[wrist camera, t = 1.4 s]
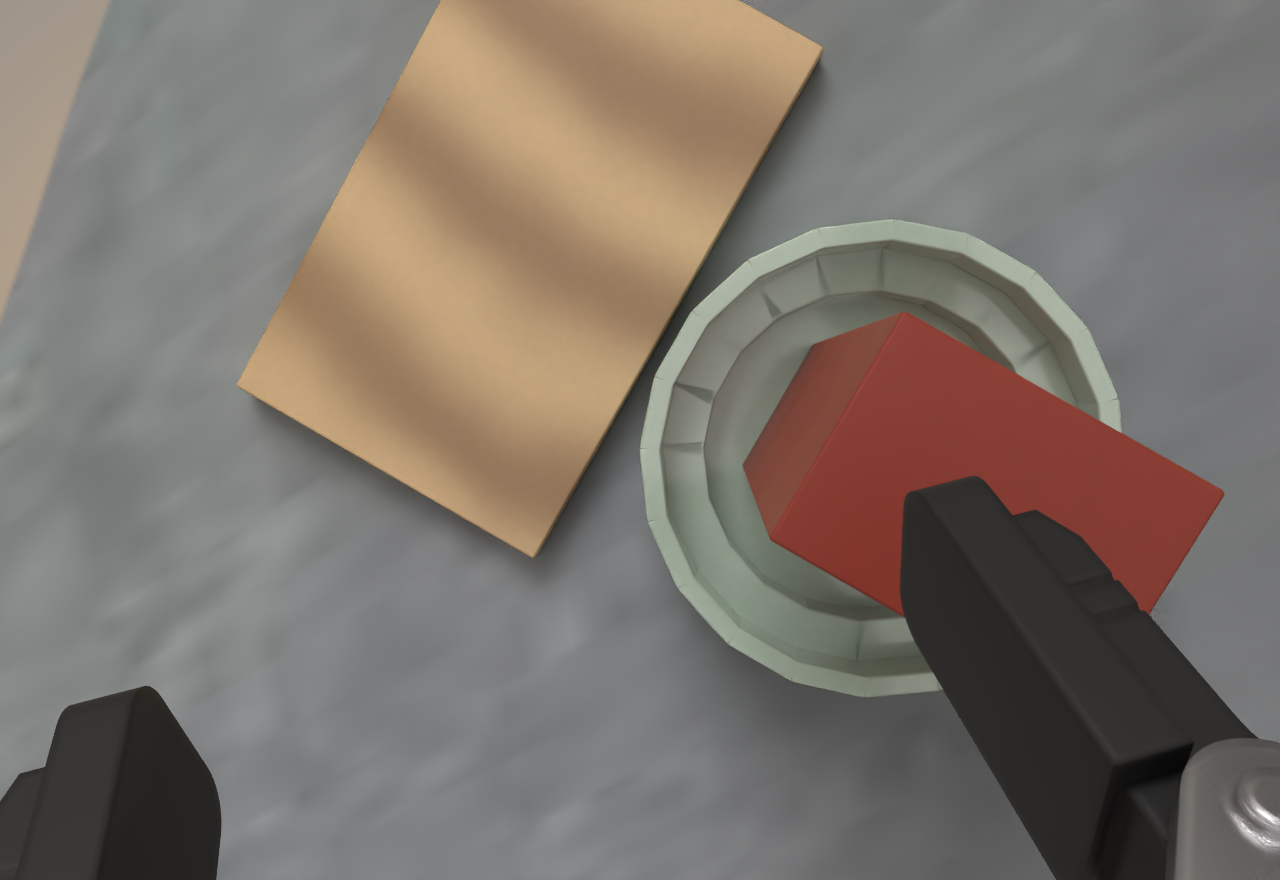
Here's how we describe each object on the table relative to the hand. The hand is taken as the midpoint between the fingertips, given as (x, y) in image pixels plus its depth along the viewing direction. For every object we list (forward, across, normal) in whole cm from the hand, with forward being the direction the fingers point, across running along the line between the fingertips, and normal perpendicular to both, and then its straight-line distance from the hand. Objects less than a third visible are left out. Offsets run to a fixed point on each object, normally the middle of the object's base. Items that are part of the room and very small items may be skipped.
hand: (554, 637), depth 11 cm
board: (+23, -2, +6) cm, 24 cm away
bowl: (+16, -10, +13) cm, 23 cm away
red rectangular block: (+16, -10, +12) cm, 22 cm away
